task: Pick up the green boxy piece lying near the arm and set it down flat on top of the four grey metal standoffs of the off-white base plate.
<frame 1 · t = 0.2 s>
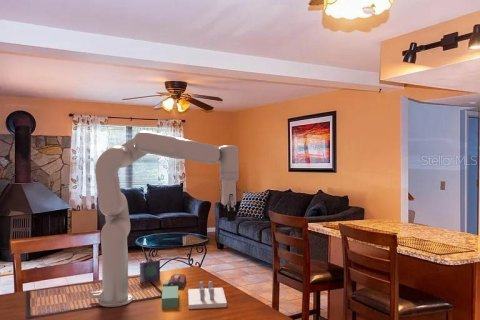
hand: (229, 219, 165), 31 cm above the table, tool pointing down, fingers open, 9 cm apart
flask: (150, 281, 186), on the table
standoff plate: (206, 299, 161), on the table
green boxy piece: (170, 302, 160), on the table
walkie-talkie: (174, 287, 178), on the table
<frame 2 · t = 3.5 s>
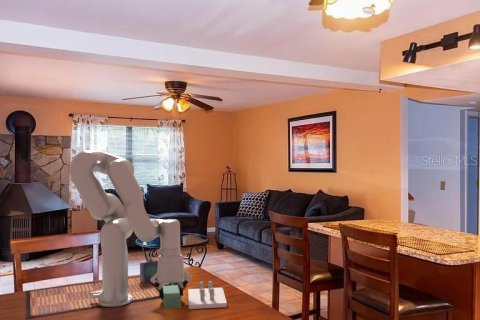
hand: (171, 297, 160), 1 cm above the table, tool pointing down, fingers closed on green boxy piece, 6 cm apart
green boxy piece: (171, 301, 160), on the table, touching gripper
everything else where it was.
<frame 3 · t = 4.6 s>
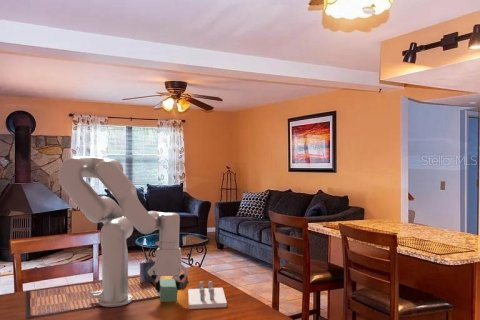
hand: (167, 291, 160), 4 cm above the table, tool pointing down, fingers closed on green boxy piece, 6 cm apart
green boxy piece: (167, 294, 160), point 3 cm above the table, touching gripper
everything else where it was.
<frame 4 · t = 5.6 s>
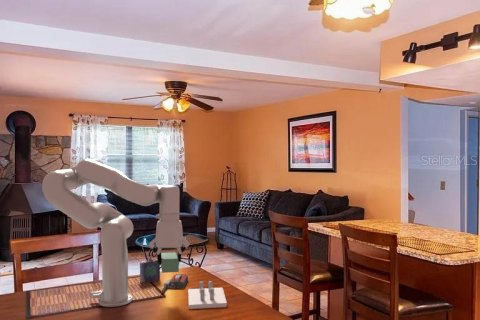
hand: (169, 263, 159), 15 cm above the table, tool pointing down, fingers closed on green boxy piece, 6 cm apart
green boxy piece: (169, 267, 159), point 13 cm above the table, touching gripper
everything else where it was.
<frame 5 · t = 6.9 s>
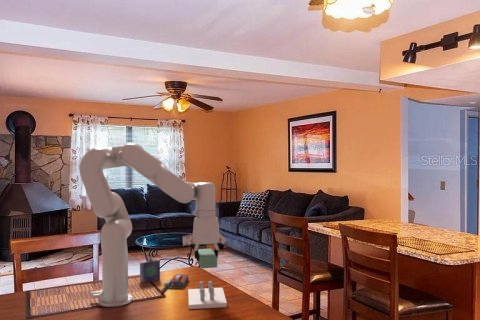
hand: (206, 259, 161), 16 cm above the table, tool pointing down, fingers closed on green boxy piece, 6 cm apart
green boxy piece: (206, 263, 161), point 14 cm above the table, touching gripper
everything else where it was.
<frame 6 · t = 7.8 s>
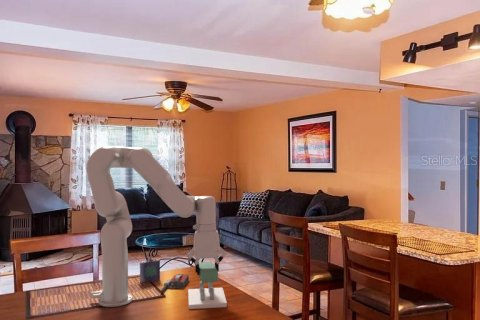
hand: (207, 273, 161), 10 cm above the table, tool pointing down, fingers closed on green boxy piece, 6 cm apart
green boxy piece: (207, 276, 161), point 9 cm above the table, touching gripper
everything else where it was.
when the fingers open (8 cm above the table, at t = 8.7 s): green boxy piece drops 1 cm, resting on standoff plate.
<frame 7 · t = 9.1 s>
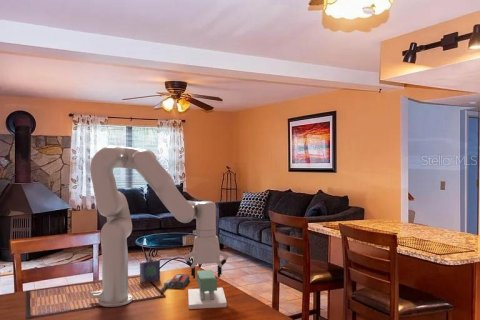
hand: (206, 277, 161), 9 cm above the table, tool pointing down, fingers open, 9 cm apart
green boxy piece: (206, 285, 161), point 5 cm above the table, touching standoff plate
everything else where it was.
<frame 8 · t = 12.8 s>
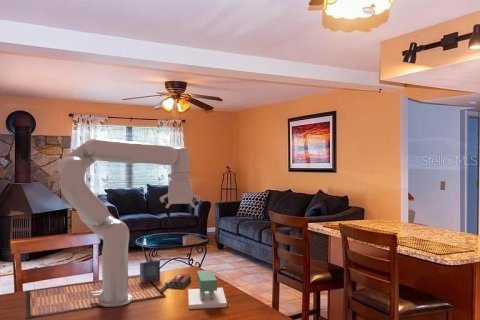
hand: (180, 217, 175), 30 cm above the table, tool pointing down, fingers open, 9 cm apart
at the end: green boxy piece 0.0 cm off-centre on the standoff plate, point 5.5 cm above the standoff plate's base; green boxy piece tilted 0°; the gripper is holding nothing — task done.
